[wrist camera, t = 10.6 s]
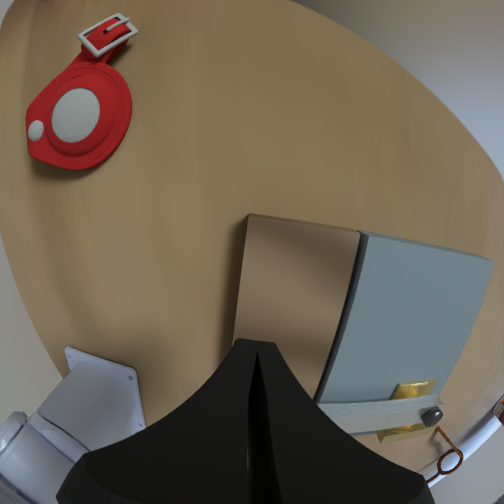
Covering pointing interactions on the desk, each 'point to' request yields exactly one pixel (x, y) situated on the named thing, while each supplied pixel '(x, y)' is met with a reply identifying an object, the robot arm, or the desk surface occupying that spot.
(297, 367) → the jamb board
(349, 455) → the robot arm
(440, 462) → the glasses
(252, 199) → the desk surface
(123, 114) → the tracker holder
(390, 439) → the brass keeper
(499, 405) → the pill bottle
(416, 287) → the door panel
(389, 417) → the bar
